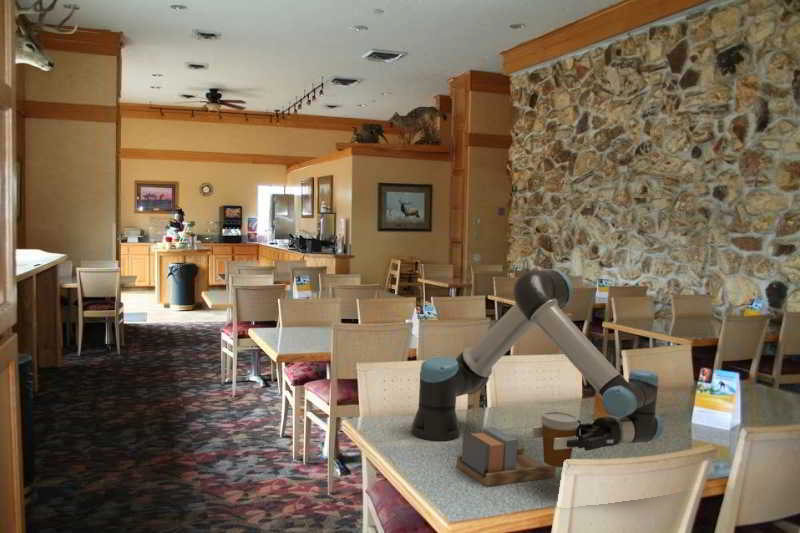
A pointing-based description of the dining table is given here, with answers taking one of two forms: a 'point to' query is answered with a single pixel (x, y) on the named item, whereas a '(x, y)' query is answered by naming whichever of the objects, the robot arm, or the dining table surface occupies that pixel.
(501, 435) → the books
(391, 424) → the dining table surface
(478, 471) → the bookend
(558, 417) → the disposable coffee cup
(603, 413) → the small box
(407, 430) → the dining table surface
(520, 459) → the wooden serving tray
